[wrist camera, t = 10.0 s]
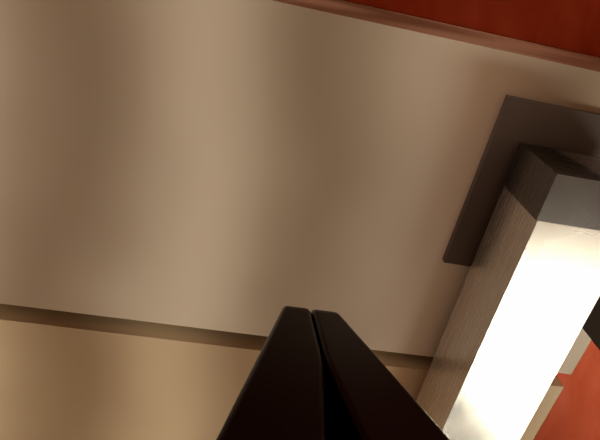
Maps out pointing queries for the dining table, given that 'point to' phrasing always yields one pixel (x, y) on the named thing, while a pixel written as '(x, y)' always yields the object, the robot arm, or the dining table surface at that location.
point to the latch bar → (520, 298)
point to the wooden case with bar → (246, 194)
